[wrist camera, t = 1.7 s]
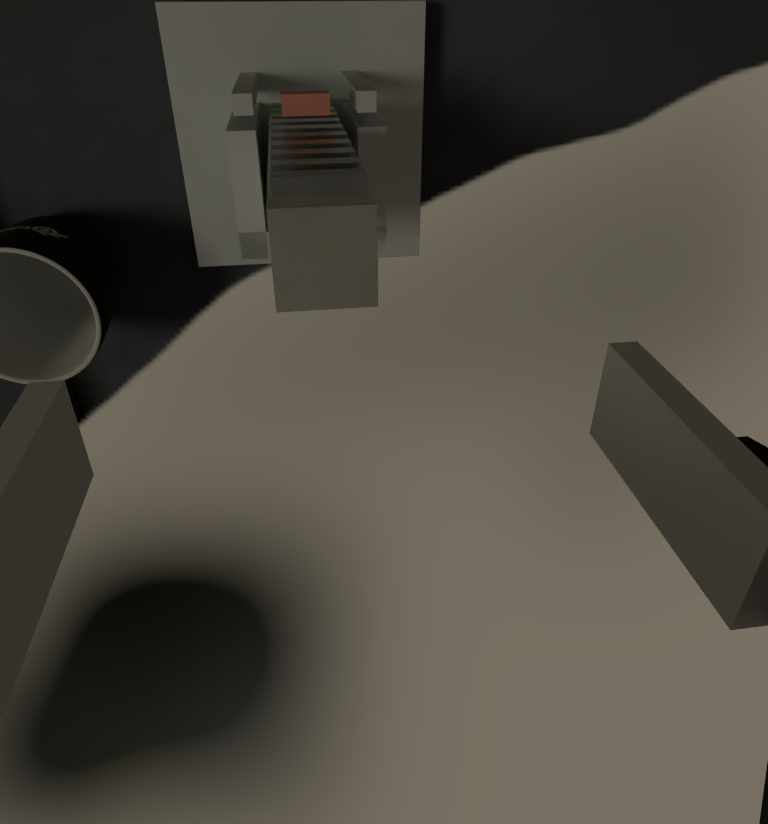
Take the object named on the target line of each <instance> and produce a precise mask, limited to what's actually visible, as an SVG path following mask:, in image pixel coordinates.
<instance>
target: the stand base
mask: <svg viewBox="0 0 768 824" xmlns="http://www.w3.org/2000/svg"><path fill="white" fill-rule="evenodd" d="M155 5H156V11H157V17H158V23H159V29H160V35H161V41H162V48H163V54H164V60H165V66H166V72H167V78H168V84H169V90H170V96H171V102H172V108H173V114H174V120H175V126H176V132H177V138H178V144H179V150H180V156H181V162H182V168H183V174H184V180H185V186H186V192H187V198H188V204H189V211H190V217H191V223H192V229H193V235H194V241H195V247H196V253H197V259H198V265H199V267H208V266H227V265H246V264H266V263H272V262H271V252H270V242H269V232H268V223H267V213H266V200H267V173H268V146H269V128H268V122H269V119H270V113H272V112H271V108H272V103H281V108H282V117H287V116H326V115H331V114H330V102H331V103H332V107H334V112H336V113H337V118H338V117H339V119H340V124H342V125H343V127H344V131H346V133H347V139H350V141H351V143H352V147H354V149H355V151H356V157H359V158H360V160H361V165H362V168H365V170H366V172H367V177H368V186H369V188H370V191H371V193H372V195H373V197H374V199H375V201H376V203H377V238H378V258H381V257H401V256H418V255H419V233H420V197H421V161H422V124H423V88H424V51H425V15H426V1H422V0H395V1H203V2H155Z"/></svg>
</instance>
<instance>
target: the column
mask: <svg viewBox="0 0 768 824" xmlns="http://www.w3.org/2000/svg"><path fill="white" fill-rule="evenodd" d="M271 112H272V113H270V119H269V122H268V128H269V146H268V173H267V200H266V213H267V223H268V232H269V242H270V252H271V262H272V272H273V281H274V292H275V301H276V311H277V312H291V311H308V310H325V309H342V308H358V307H375V306H378V238H377V203H376V201H375V199H374V197H373V195H372V193H371V191H370V188H369V186H368V177H367V172H366V170H365V168H362V165H361V160H360V158H359V157H356V151H355V149H354V147H352V143H351V141H350V139H347V133H346V131H344V127H343V125H342V124H340V119H339V117H338V118H337V113H336V112H334V107H332V103H331V102H330V114H331V115H326V116H287V117H282V108H281V103H272V108H271Z"/></svg>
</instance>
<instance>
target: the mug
mask: <svg viewBox="0 0 768 824" xmlns="http://www.w3.org/2000/svg"><path fill="white" fill-rule="evenodd" d="M116 293H117V271H116V265H115V262H114V259H113V256H112V254H111V252H110V250H109V248H108V247H107V245H106V244H105V243H104V241H103V240H102V239H101V238H100V237H99V236H98V235H97V234H96V233H95V232H94V231H92V230H91V229H90V228H88V227H87V226H85V225H83V224H81V223H79V222H77V221H74V220H71V219H68V218H64V217H58V216H43V217H36V218H31V219H27V220H24V221H21V222H18V223H15V224H13V225H11V226H8V227H6V228H4V229H2V230H0V378H2V379H5V380H9V381H12V382H17V383H22V384H28V383H29V382H44V381H59V380H66V379H68V378H71V377H73V376H74V375H76V374H78V373H79V372H81V371H82V370H83V369H84V368H85V367H87V366H88V365H89V363H90V362H91V361H92V360H93V359H94V357H95V356H96V354H97V352H98V350H99V349H100V347H101V345H102V343H103V340H104V338H105V335H106V332H107V330H108V327H109V324H110V321H111V317H112V313H113V309H114V305H115V300H116Z"/></svg>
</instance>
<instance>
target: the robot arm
mask: <svg viewBox="0 0 768 824" xmlns="http://www.w3.org/2000/svg"><path fill="white" fill-rule="evenodd" d="M590 434H591V435H592V437H593V438H594V440H595V441H596V443H597V444H598V445H599V447H600V448H601V450H602V451H603V452H604V453H605V455H606V457H607V458H608V459H609V461H610V462H611V464H612V465H613V466H614V468H615V469H616V470H617V472H618V473H619V475H620V476H621V477H622V479H623V480H624V482H625V483H626V484H627V486H628V487H629V489H630V490H631V491H632V493H633V494H634V496H635V497H636V499H637V500H638V501H639V503H640V504H641V505H642V507H643V508H644V510H645V511H646V512H647V514H648V515H649V517H650V518H651V520H652V521H653V522H654V524H655V525H656V527H657V528H658V529H659V531H660V532H661V534H662V535H663V536H664V538H665V539H666V540H667V542H668V543H669V545H670V546H671V548H672V549H673V550H674V552H675V553H676V555H677V556H678V557H679V559H680V560H681V561H682V563H683V564H684V566H685V567H686V569H687V570H688V571H689V573H690V574H691V575H692V577H693V578H694V580H695V581H696V583H697V584H698V585H699V587H700V588H701V590H702V591H703V592H704V594H705V595H706V597H707V598H708V599H709V600H710V602H711V604H712V605H713V606H714V608H715V609H716V610H717V612H718V613H719V615H720V616H721V618H722V619H723V620H724V622H725V623H726V625H727V626H728V627H729V629H730V630H735V629H742V628H750V627H759V626H766V625H768V448H767V447H766V446H764V445H762V444H760V443H758V442H756V441H754V440H753V439H751V438H749V437H736V436H735V435H734V434H733V433H732V432H731V431H730V430H728V429H727V428H726V427H725V426H724V425H723V424H722V423H721V422H720V421H719V420H718V419H717V418H716V417H715V416H714V415H713V414H712V413H711V412H710V411H709V410H708V409H707V408H706V407H705V406H704V405H703V404H702V403H700V402H699V401H698V400H697V399H696V398H695V397H694V396H693V395H692V394H691V393H690V392H689V391H688V390H687V389H686V388H685V387H684V386H683V385H682V384H681V383H680V382H679V381H678V380H677V379H676V378H674V376H672V375H671V374H670V373H669V372H668V371H667V370H666V369H665V368H664V367H663V366H662V365H661V364H660V363H659V362H658V361H657V360H656V359H655V358H653V356H652V355H651V354H650V353H649V352H648V351H646V350H645V349H644V348H643V347H642V346H641V345H640V344H639V343H638V342H622V343H609V344H608V348H607V353H606V358H605V363H604V368H603V373H602V377H601V382H600V386H599V391H598V396H597V401H596V406H595V410H594V415H593V420H592V425H591V429H590ZM92 478H93V471H92V468H91V465H90V462H89V459H88V455H87V452H86V449H85V446H84V442H83V440H82V436H81V433H80V430H79V426H78V423H77V420H76V417H75V414H74V410H73V407H72V404H71V401H70V398H69V394H68V391H67V388H66V385H65V381H64V380H59V381H44V382H29V383H28V385H27V386H26V388H25V389H24V391H23V393H22V394H21V396H20V397H19V399H18V400H17V402H16V404H15V405H14V407H13V408H12V410H11V412H10V413H9V415H8V416H7V418H6V419H5V421H4V423H3V424H2V426H1V427H0V721H1V719H2V717H3V714H4V712H5V709H6V706H7V704H8V701H9V698H10V696H11V693H12V690H13V688H14V685H15V682H16V680H17V677H18V674H19V672H20V669H21V666H22V664H23V661H24V658H25V656H26V653H27V650H28V648H29V645H30V642H31V640H32V637H33V635H34V632H35V629H36V626H37V624H38V621H39V619H40V616H41V613H42V611H43V608H44V605H45V603H46V600H47V597H48V595H49V592H50V589H51V587H52V584H53V581H54V579H55V576H56V573H57V571H58V568H59V565H60V563H61V560H62V557H63V555H64V552H65V549H66V547H67V544H68V541H69V539H70V536H71V533H72V530H73V528H74V526H75V523H76V520H77V518H78V515H79V512H80V510H81V507H82V504H83V501H84V499H85V496H86V494H87V491H88V488H89V486H90V483H91V480H92ZM760 824H768V763H767V771H766V778H765V786H764V794H763V801H762V809H761V816H760Z"/></svg>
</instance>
